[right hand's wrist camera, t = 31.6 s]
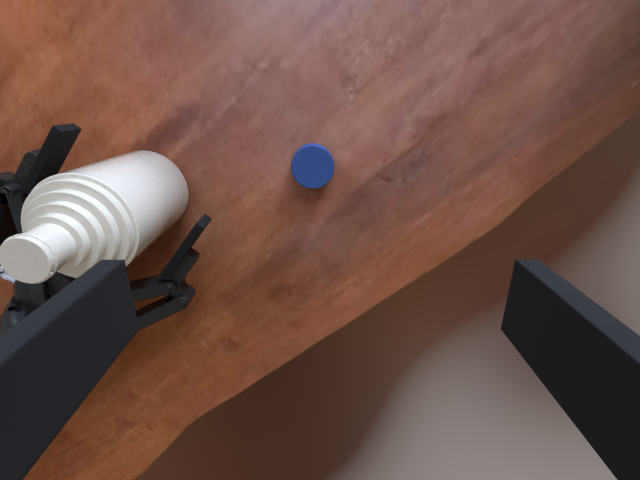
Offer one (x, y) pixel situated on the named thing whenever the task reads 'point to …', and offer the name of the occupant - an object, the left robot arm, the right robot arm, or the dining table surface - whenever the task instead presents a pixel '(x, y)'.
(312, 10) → the dining table surface
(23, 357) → the right robot arm
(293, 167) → the cap
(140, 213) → the bottle
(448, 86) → the dining table surface
